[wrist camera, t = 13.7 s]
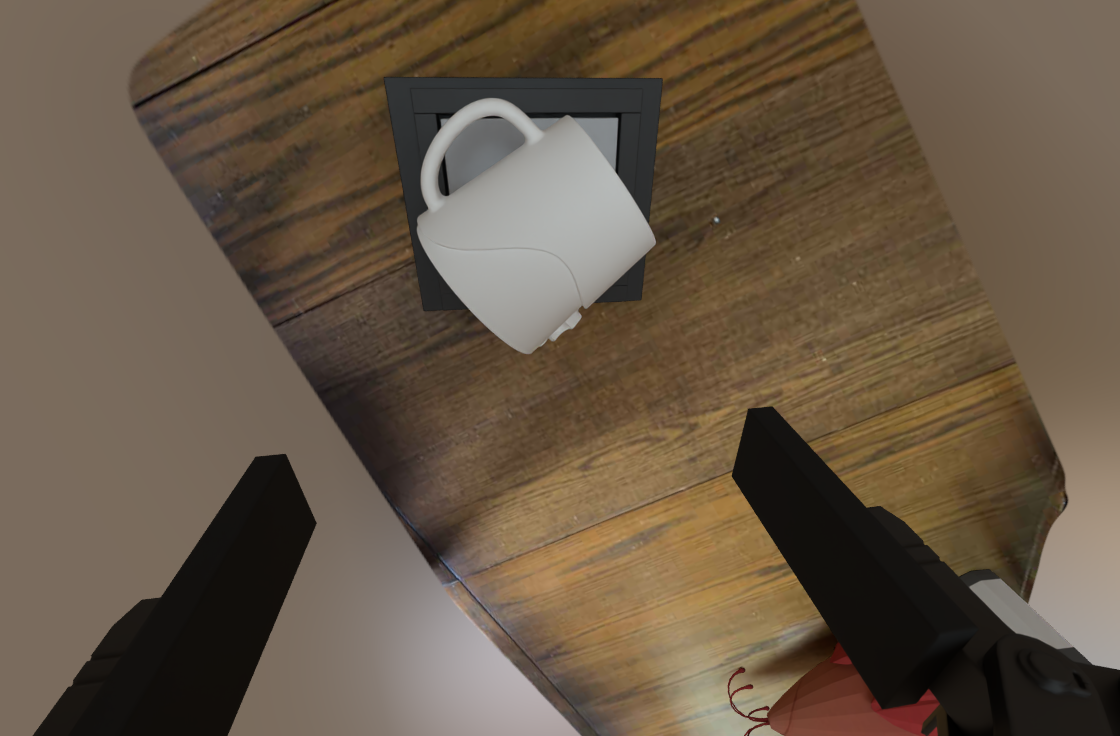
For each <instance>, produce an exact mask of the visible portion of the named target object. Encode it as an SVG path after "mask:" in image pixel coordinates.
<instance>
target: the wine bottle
mask: <svg viewBox="0 0 1120 736" xmlns="http://www.w3.org/2000/svg"><path fill="white" fill-rule="evenodd" d="M959 578H960V579H961V580H962V581H963V582H964V583H965V584H966V585H967V586H968V587H969V588H970V589H971V590H972V591H973V592H974V593H975V594H976V595H977V596H978V597H979V598H980V599H981V600H982V601H983V602H984V603H985V604H986V605H987V606H988V607H989V608H990V609H991V610H992V611H993V612H994V613H995V614H996V615H997V616H998V617H999V618H1000V619H1001V620H1002V621H1003V622H1004V623H1005V624H1006V625H1007V626H1008V627H1009V628H1011V629H1012V630H1013V631H1014V632H1015V633H1016V634H1023V635H1026V636H1030V637H1033V638H1037V639H1039V640H1041V641H1043V642H1045V643H1046V644H1048V645H1050V646H1052V647H1054V648H1056V649H1057V650H1059V651H1060V652H1061V653H1063V654H1064V655H1065V656H1067V657H1068V658H1069V659H1071V660H1072V661H1074V662H1080V663H1085V664H1090V665H1092V664H1091V663H1090V662H1089V661H1088V660H1087V659H1086V658H1085V657H1084V656H1083V655H1082V654H1080V652H1078V651H1077V650H1076V649H1075V648H1074V647H1073V646H1072V645H1071V644H1070V643H1069V642H1068V641H1067V640H1066V639H1064V638H1063V637H1062V636H1061V635H1060V634H1059V633H1058V632H1057V631H1056V630H1055V629H1054V628H1053V627H1052V626H1051V625H1049V624H1048V623H1047V622H1046V621H1045V620H1044V619H1043V618H1042V617H1041V616H1040V615H1039V614H1037V612H1035V611H1034V610H1033V609H1032V608H1031V607H1030V606H1029V605H1028V604H1027V603H1026V602H1025V601H1024V600H1023V599H1022V598H1021V597H1019V596H1018V595H1017V594H1016V593H1015V592H1014V591H1013V590H1012V589H1011V588H1010V587H1009V586H1008V585H1007V584H1006V583H1004V582H1003V581H1002V580H1001V579H1000V578H999V577H998V576H997V575H996V574H995V573H993V572H992V571H991V570H989V569H988V570H977V571H970V572H968V573H966V574H964V575H962V576H960V577H959Z"/></svg>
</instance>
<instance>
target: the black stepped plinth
mask: <svg viewBox="0 0 1120 736" xmlns="http://www.w3.org/2000/svg"><path fill="white" fill-rule="evenodd" d="M662 81H663V79H662V78H478V77H384V82H385V88H386V94H387V100H388V106H389V111H390V117H391V123H392V129H393V135H394V141H395V146H396V152H397V158H398V164H399V170H400V176H401V181H402V187H403V193H404V199H405V205H406V211H407V216H408V222H409V228H410V234H411V240H412V246H413V251H414V257H415V263H416V269H417V275H418V281H419V286H420V292H421V298H422V304H423V310H424V311H435V310H463V309H468V307H467V306H466V305H465V304H464V303H463V302H462V301H461V300H460V299H459V297H458V296H457V295H456V294H455V293H454V291H453V290H452V289H451V288H450V287H449V285H448V284H447V283H446V281H445V280H444V279H443V278H442V276H441V275H440V273H439V272H438V271H437V269H436V268H435V266H434V265H433V263H432V262H431V260H430V259H429V257H428V256H427V254H426V252H425V250H424V248H423V247H422V244H421V242H420V240H419V237H418V234H417V226H418V223H417V218H418V216H420V215H421V214H422V213H424V212H425V211H427V210H428V206H427V204H426V202H425V200H424V198H423V195H422V190H421V170H422V165H423V161H424V158H425V155H426V153H427V151H428V148H429V146H430V144H431V143H432V141H433V139H434V138H435V136H436V134H437V133H438V132H439V130H440V129H441V128H442V127H441V119H443V118H451V117H452V116H453V115H454V114H455V113H456V112H458V111H459V110H460V109H462V108H463V107H465V106H466V105H468V104H470V103H472V102H475V101H477V100H481V99H486V98H498V99H502V100H505V101H508V102H510V103H512V104H513V105H515V106H516V107H518V108H519V109H520V110H521V111H522V112H524V113H525V114H526V115H527V116H528V117H529V118H563V117H564V116H566V115H569V116H571V117H572V118H605V117H612V118H618V132H617V150H616V167H615V172H616V173H617V175H618V176H619V178H620V179H621V181H622V182H623V184H624V185H625V187H626V188H627V190H628V191H629V193H630V195H631V196H632V198H633V199H634V201H635V202H636V204H637V206H638V207H639V209H640V211H641V212H642V214H643V216H644V217H645V219H646V221H647V223H648V225H649V215H650V205H651V195H652V184H653V174H654V164H655V154H656V143H657V133H658V123H659V112H660V102H661V92H662ZM483 118H502V117H499V116H487V117H483ZM438 186H439V190H440V193H441V194H442V195H443V196H449V195H450V193H449V185H448V177H447V168H446V160H445V155H444V158H443V160H442V162H441V165H440V169H439V174H438ZM645 257H646V254H645V255H644V256H643V257H642V258H641V259H640V260H639V261H637V262H636V263H635V264H634V265H633V266H632V267H631V268H630V269H629V270H628V271H627V272H626V273H625V274H623V275H622V276H621V277H620V278H619V279H618V280H617V281H616V282H615V283H614V284H613V285H612V286H611V287H610V288H608V289H607V290H606V291H605V292H604V293H603V294H602V295H601V296H600V297H599V298H598V299H597V300H596V301H595V302H593V303H601V302H621V301H634V300H641V298H642V288H643V277H644V267H645Z"/></svg>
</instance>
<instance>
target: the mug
mask: <svg viewBox="0 0 1120 736" xmlns="http://www.w3.org/2000/svg"><path fill="white" fill-rule="evenodd" d="M487 116H499V117H502V118H504V119H506V120H507V121H509V122H510V123H511V124H513V125H514V126H515V127H516V128H517V129H518V130H519V131H520V132H521V133H522V134H523V135H524V137H525V142H524V144H523V145H522V146H520V147H519V148H517V149H516V150H515V151H513V152H512V153H510V154H509V155H507V156H506V157H504V158H503V159H501V160H500V161H499V162H497V163H496V164H494V165H493V166H491V167H490V168H488V169H487V170H485V171H484V172H482V173H481V174H479V175H478V176H477V177H475V178H474V179H472V180H471V181H469V182H468V183H466V184H465V185H463V186H462V187H460V188H459V189H458V190H456V191H455V192H453V193H452V194H450V195H449V196H443V195H442V194H441V193H440V190H439V186H438V174H439V169H440V165H441V162H442V160H443V158H444V155H445V154H446V152H447V150H448V148H449V147H450V145H451V144H452V142H453V141H454V140H455V138H456V137H457V136H458V135H459V134H460V133H461V132H462V131H463V130H464V129H465V128H466V127H467V126H469V125H470V124H471V123H473V122H475V121H476V120H478V119H481V118H483V117H487ZM421 190H422V195H423V198H424V200H425V202H426V204H427V206H428V210H427V211H425V212H424V213H422V214H421V215H420V216H418V218H417V223H418V226H417V234H418V237H419V240H420V242H421V244H422V247H423V248H424V250H425V252H426V254H427V256H428V257H429V259H430V260H431V262H432V263H433V265H434V266H435V268H436V269H437V271H438V272H439V273H440V275H441V276H442V278H443V279H444V280H445V281H446V283H447V284H448V285H449V287H450V288H451V289H452V290H453V291H454V293H455V294H456V295H457V296H458V297H459V299H460V300H461V301H462V302H463V303H464V304H465V305H466V306H467V307H468V309H469V310H470V311H471V312H472V313H473V314H474V315H475V316H476V317H477V318H478V319H479V320H480V321H481V322H482V323H483V324H484V325H485V326H486V327H487V328H488V329H490V330H491V331H492V332H493V333H494V334H495V335H496V336H498V337H499V338H500V339H501V340H502V341H504V342H505V343H506V344H508V345H509V346H511V347H512V348H514V349H515V350H517V351H519V352H521V353H524V354H531V353H532V352H533V351H534V350H536V349H537V348H538V347H539V346H540V347H541V346H542V345H543V344H544V343H545V342H546V341H547V339H548V338H549V339H550V340H551V341H555V340H556V339H557V337H558V336H559V335H560V334H561V333H562V332H564V331H565V330H567V329H573V328H574V327H575V325H576V324H577V323H578V322H579V320H580V319H581V317H582V316H581V314H580V313H579V312H578V311H579V308H580V307H581V306H583V307H584V308H585V309H587V308H588V307H589V306H590V305H591V304H592V303H593V302H595V301H596V300H597V299H598V298H599V297H600V296H601V295H602V294H603V293H604V292H605V291H606V290H607V289H608V288H610V287H611V286H612V285H613V284H614V283H615V282H616V281H617V280H618V279H619V278H620V277H621V276H622V275H623V274H625V273H626V272H627V271H628V270H629V269H630V268H631V267H632V266H633V265H634V264H635V263H636V262H637V261H639V260H640V259H641V258H642V257H643V256H644V255H645V254H646V253H647V252H648V251H649V250H650V249H651V248H652V247H654V246H655V244H656V240H655V237H654V235H653V233H652V230H651V228H650V227H649V225H648V223H647V221H646V219H645V217H644V216H643V214H642V212H641V211H640V209H639V207H638V206H637V204H636V202H635V201H634V199H633V198H632V196H631V195H630V193H629V191H628V190H627V188H626V187H625V185H624V184H623V182H622V181H621V179H620V178H619V176H618V175H617V173H616V172H615V171H614V169H613V168H612V166H611V165H610V163H609V162H608V161H607V159H606V158H605V156H604V155H603V154H602V152H601V151H600V150H599V148H598V147H597V146H596V144H595V143H594V142H593V140H592V139H591V138H590V137H589V135H588V134H587V133H586V132H585V131H584V129H583V128H582V127H581V126H580V125H579V124H578V123H577V122H576V121H575V120H574V119H573V118H572V117H571V116H569V115H566V116H564V117H563V118H561V119H560V120H558V121H557V122H556V123H554V124H553V125H551V126H550V127H548V128H547V129H545V130H541V129H540V128H539V127H538V126H537V125H536V124H535V123H534V122H533V121H532V120H531V119H530V118H529V117H528V116H527V115H526V114H525V113H524V112H522V111H521V110H520V109H519V108H518V107H516V106H515V105H513V104H512V103H510V102H508V101H505V100H502V99H498V98H486V99H481V100H477V101H475V102H472V103H470V104H468V105H466V106H465V107H463V108H462V109H460V110H459V111H458V112H456V113H455V114H454V115H453V116H452V117H451V118H450V119H449V120H448V121H447V122H446V123H445V124H444V125H443V126H442V128H441V129H440V130H439V132H438V133H437V134H436V136H435V138H434V139H433V141H432V143H431V144H430V146H429V148H428V151H427V153H426V155H425V158H424V161H423V165H422V170H421Z"/></svg>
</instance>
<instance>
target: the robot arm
mask: <svg viewBox="0 0 1120 736" xmlns="http://www.w3.org/2000/svg"><path fill="white" fill-rule="evenodd" d="M732 478H733V479H734V481H735V482H736V484H737V485H738V487H739V488H740V490H741V492H742V493H743V495H744V496H745V498H746V499H747V501H748V502H749V504H750V505H751V507H752V509H753V510H754V512H755V513H756V515H757V516H758V518H759V519H760V521H761V523H762V524H763V526H764V527H765V529H766V530H767V532H768V533H769V535H770V536H771V538H772V540H773V541H774V543H775V544H776V546H777V547H778V549H779V550H780V552H781V554H782V555H783V557H784V558H785V560H786V561H787V563H788V564H789V566H790V567H791V569H792V571H793V572H794V574H795V575H796V577H797V578H798V580H799V581H800V583H801V585H802V586H803V588H804V589H805V591H806V592H807V594H808V595H809V597H810V598H811V600H812V602H813V603H814V605H815V606H816V608H817V609H818V611H819V612H820V614H821V616H822V617H823V619H824V620H825V622H826V623H827V625H828V626H829V628H830V629H831V631H832V633H833V634H834V636H835V637H836V639H837V640H838V642H839V643H840V645H841V647H842V648H843V650H844V651H845V653H846V654H847V656H848V657H849V659H850V660H851V662H852V664H853V665H854V667H855V668H856V670H857V671H858V673H859V674H860V676H861V678H862V679H863V681H864V682H865V684H866V685H867V687H868V688H869V690H870V691H871V693H872V695H873V696H874V698H875V699H876V701H877V702H878V704H879V705H880V707H881V709H882V710H883V709H888V708H894V707H900V706H905V705H911V704H916V703H917V702H918V701H919V700H920V699H921V697H922V696H923V695H924V694H925V693H926V692H927V690H928V689H929V690H930V691H931V692H932V694H933V695H934V696H935V698H936V699H937V700H938V702H939V703H940V704H939V706H938V707H937V708H936V709H935V710H934V711H933V712H932V713H931V714H930V716H929V717H928V718H927V719H926V720H925V721H924V722H923V725H922V730H921V733H922V734H924V735H926V736H928V735H929V734H930V733H931V732H932V731H933V730H934V729H935V728H936V727H937V734H938V736H1120V670H1117V669H1112V668H1106V667H1101V666H1095V665H1090V664H1085V663H1080V662H1074V661H1072V660H1071V659H1069V658H1068V657H1067V656H1065V655H1064V654H1063V653H1061V652H1060V651H1059V650H1057V649H1056V648H1054V647H1052V646H1050V645H1048V644H1046V643H1045V642H1043V641H1041V640H1039V639H1037V638H1033V637H1030V636H1026V635H1023V634H1016V633H1015V632H1014V631H1013V630H1012V629H1011V628H1009V627H1008V626H1007V625H1006V624H1005V623H1004V622H1003V621H1002V620H1001V619H1000V618H999V617H998V616H997V615H996V614H995V613H994V612H993V611H992V610H991V609H990V608H989V607H988V606H987V605H986V604H985V603H984V602H983V601H982V600H981V599H980V598H979V597H978V596H977V595H976V594H975V593H974V592H973V591H972V590H971V589H970V588H969V587H968V586H967V585H966V584H965V583H964V582H963V581H962V580H961V579H960V578H959V577H958V576H957V575H956V574H955V573H954V572H953V571H952V570H951V569H950V568H949V567H948V566H947V564H946V563H945V562H941V561H940V559H939V556H938V555H937V554H936V553H935V552H934V551H933V550H932V549H931V548H930V547H929V546H928V545H924V543H923V540H922V539H921V538H920V537H919V536H918V535H917V534H916V533H915V532H914V531H913V530H912V529H911V528H910V527H909V526H908V525H907V524H906V523H905V522H904V521H902V520H901V519H899V518H898V517H896V516H895V515H893V514H892V513H890V512H888V511H887V510H885V509H884V508H882V507H881V506H876V507H868V508H866V507H865V506H864V504H863V503H862V502H861V501H860V500H859V499H858V498H857V497H856V496H855V495H854V494H853V493H852V492H851V490H850V489H849V488H848V487H847V486H846V485H845V484H844V483H843V482H842V481H841V480H840V479H839V478H838V477H837V475H836V474H835V473H834V472H833V471H832V470H831V469H830V468H829V467H828V466H827V465H826V464H825V463H824V461H823V460H822V459H821V458H820V457H819V456H818V455H817V454H816V453H815V452H814V451H813V450H812V449H811V447H810V446H809V445H808V444H807V443H806V442H805V441H804V440H803V439H802V438H801V437H800V436H799V435H798V433H797V432H796V431H795V430H794V429H793V428H792V427H791V426H790V425H789V424H788V423H787V422H786V421H785V420H784V418H783V417H782V416H781V415H780V414H779V413H778V412H777V411H776V410H775V409H774V408H773V407H762V408H751V409H748V412H747V416H746V420H745V424H744V428H743V432H742V436H741V440H740V444H739V448H738V452H737V457H736V461H735V465H734V469H733V473H732ZM316 524H317V523H316V521H315V519H314V516H313V514H312V512H311V510H310V507H309V505H308V503H307V500H306V498H305V496H304V494H303V491H302V489H301V487H300V485H299V482H298V480H297V478H296V476H295V473H294V471H293V469H292V467H291V465H290V462H289V460H288V458H287V455H286V454H280V455H269V456H259V457H255V458H254V460H253V461H252V463H251V464H250V466H249V467H248V469H247V470H246V472H245V473H244V475H243V476H242V478H241V479H240V481H239V482H238V484H237V485H236V487H235V488H234V490H233V491H232V493H231V494H230V496H229V497H228V499H227V500H226V501H225V503H224V504H223V506H222V507H221V509H220V510H219V512H218V514H217V515H216V516H215V518H214V519H213V521H212V522H211V524H210V525H209V527H208V528H207V530H206V531H205V533H204V534H203V536H202V537H201V539H200V540H199V542H198V543H197V545H196V546H195V548H194V549H193V551H192V552H191V554H190V555H189V557H188V558H187V559H186V561H185V562H184V564H183V565H182V567H181V568H180V570H179V571H178V573H177V574H176V576H175V577H174V579H173V580H172V582H171V583H170V585H169V586H168V588H167V589H166V591H165V592H164V594H163V595H162V597H161V598H153V599H145V600H141V601H140V602H139V603H138V604H136V605H135V606H134V607H133V608H132V609H131V610H130V611H129V612H128V613H126V614H125V615H124V616H123V617H122V618H121V619H120V620H119V621H118V622H117V623H116V624H114V625H113V626H112V628H111V629H110V630H109V632H108V633H107V635H106V636H105V637H104V639H103V640H102V641H101V643H100V644H99V645H98V647H97V648H96V650H95V651H94V652H93V654H92V655H91V656H92V657H91V660H90V661H87V662H86V663H85V665H84V666H83V667H82V669H81V670H80V672H79V673H78V674H77V676H76V677H75V679H74V680H73V685H72V686H71V687H68V688H67V689H66V691H65V692H64V693H63V695H62V696H61V698H60V699H59V700H58V702H57V703H56V705H55V706H54V707H53V709H52V710H51V711H50V713H49V714H48V715H47V717H46V718H45V720H44V721H43V722H42V724H41V725H40V726H39V728H38V729H37V730H36V732H35V733H34V735H33V736H228V733H229V731H230V729H231V726H232V724H233V722H234V719H235V717H236V714H237V712H238V710H239V707H240V705H241V702H242V700H243V698H244V695H245V693H246V691H247V688H248V686H249V683H250V681H251V678H252V676H253V674H254V671H255V669H256V666H257V664H258V662H259V660H260V657H261V655H262V652H263V650H264V648H265V645H266V643H267V641H268V638H269V635H270V633H271V631H272V629H273V626H274V624H275V621H276V619H277V616H278V614H279V612H280V609H281V607H282V605H283V602H284V599H285V598H286V595H287V593H288V590H289V588H290V586H291V583H292V581H293V579H294V576H295V574H296V571H297V569H298V567H299V564H300V562H301V559H302V557H303V555H304V552H305V549H306V548H307V545H308V543H309V540H310V538H311V535H312V533H313V531H314V529H315V526H316Z"/></svg>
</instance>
